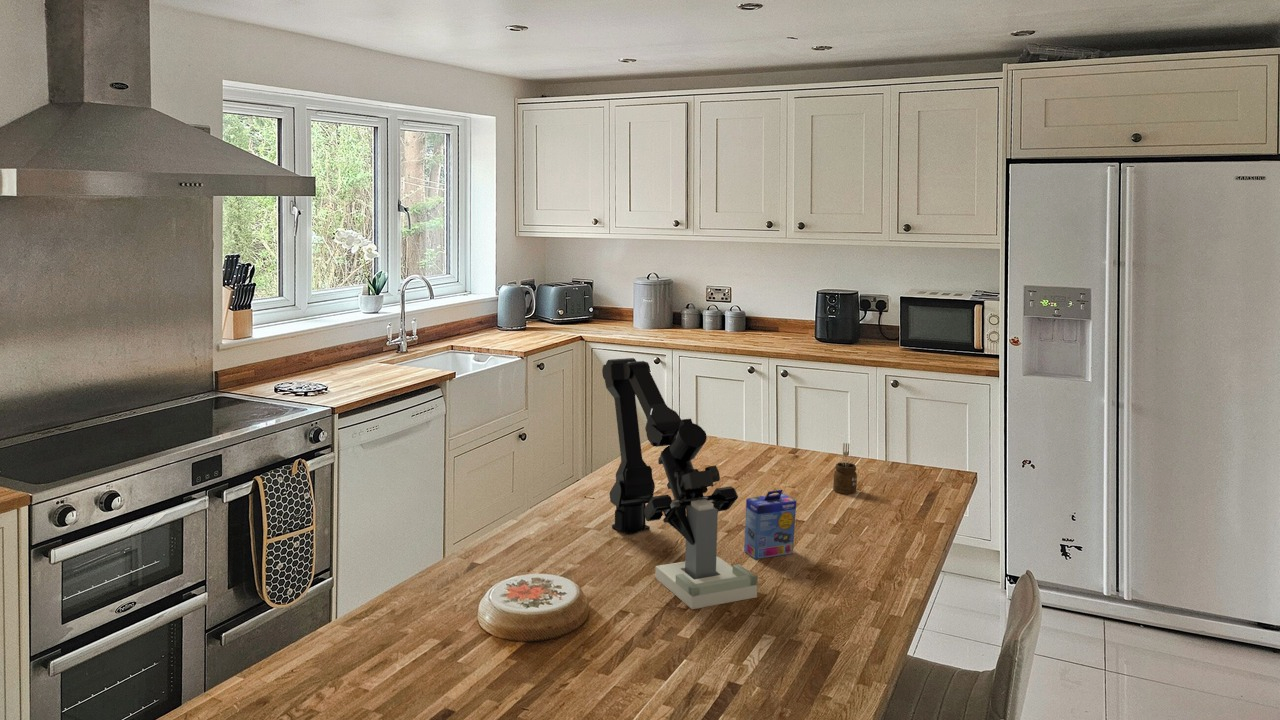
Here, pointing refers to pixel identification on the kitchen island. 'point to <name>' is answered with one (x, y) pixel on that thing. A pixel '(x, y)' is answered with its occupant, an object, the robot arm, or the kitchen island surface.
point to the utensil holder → (845, 476)
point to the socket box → (708, 584)
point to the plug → (701, 539)
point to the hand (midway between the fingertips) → (704, 542)
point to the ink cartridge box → (769, 525)
